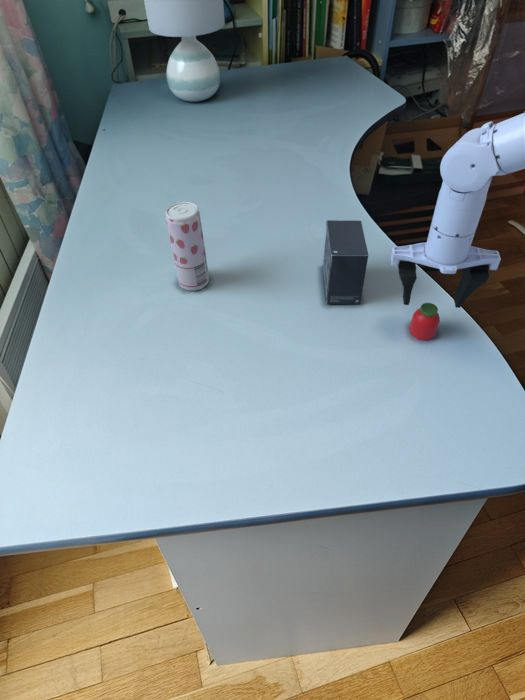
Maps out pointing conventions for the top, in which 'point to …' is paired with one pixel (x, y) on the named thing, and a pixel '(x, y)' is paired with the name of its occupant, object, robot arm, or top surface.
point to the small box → (344, 262)
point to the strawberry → (425, 322)
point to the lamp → (188, 44)
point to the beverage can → (187, 245)
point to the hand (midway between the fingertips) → (431, 302)
